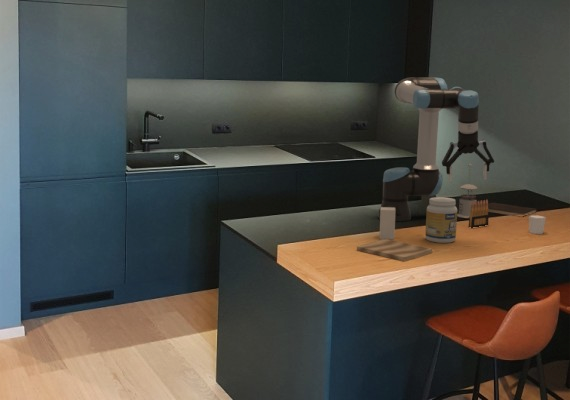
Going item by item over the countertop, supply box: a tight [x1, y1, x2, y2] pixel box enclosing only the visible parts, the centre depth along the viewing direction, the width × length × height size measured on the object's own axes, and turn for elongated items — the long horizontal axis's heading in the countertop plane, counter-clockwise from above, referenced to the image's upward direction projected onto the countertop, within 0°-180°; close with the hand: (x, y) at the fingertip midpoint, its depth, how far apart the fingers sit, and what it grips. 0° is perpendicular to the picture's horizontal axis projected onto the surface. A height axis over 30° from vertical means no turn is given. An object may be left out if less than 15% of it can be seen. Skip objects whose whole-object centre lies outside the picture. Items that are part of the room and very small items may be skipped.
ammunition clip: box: [468, 199, 490, 229], centre depth 315 cm, size 11×2×12 cm, turn 122°
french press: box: [457, 163, 478, 219], centre depth 337 cm, size 10×12×25 cm
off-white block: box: [379, 206, 396, 240], centre depth 294 cm, size 6×6×12 cm
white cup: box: [528, 214, 547, 235], centre depth 305 cm, size 7×7×7 cm
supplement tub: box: [424, 196, 458, 244], centre depth 289 cm, size 12×12×17 cm
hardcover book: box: [488, 202, 537, 216], centre depth 351 cm, size 16×23×2 cm
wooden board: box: [356, 239, 433, 262], centre depth 272 cm, size 22×18×2 cm
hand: (467, 179), depth 287 cm, fingers open, 13 cm apart
